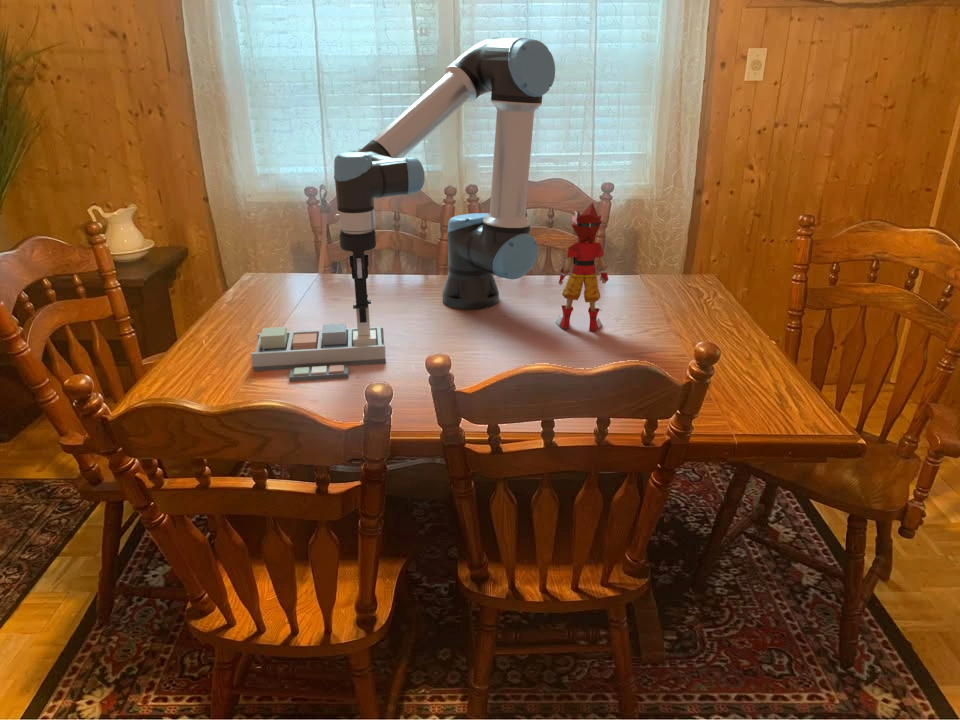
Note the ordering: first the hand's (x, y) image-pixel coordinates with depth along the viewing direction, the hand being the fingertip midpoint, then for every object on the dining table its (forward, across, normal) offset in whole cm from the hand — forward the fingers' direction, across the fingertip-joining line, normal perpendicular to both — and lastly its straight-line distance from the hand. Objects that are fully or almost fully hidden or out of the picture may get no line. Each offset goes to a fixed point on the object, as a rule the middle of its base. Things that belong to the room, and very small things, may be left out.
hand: (364, 333), depth 163 cm
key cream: (+3, 0, 0) cm, 3 cm away
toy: (+5, -9, +52) cm, 53 cm away
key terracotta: (+3, 0, -13) cm, 13 cm away
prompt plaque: (+5, +10, -10) cm, 15 cm away
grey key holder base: (+5, 0, -10) cm, 11 cm away
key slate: (+1, 0, -6) cm, 7 cm away
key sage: (+1, 0, -19) cm, 19 cm away
